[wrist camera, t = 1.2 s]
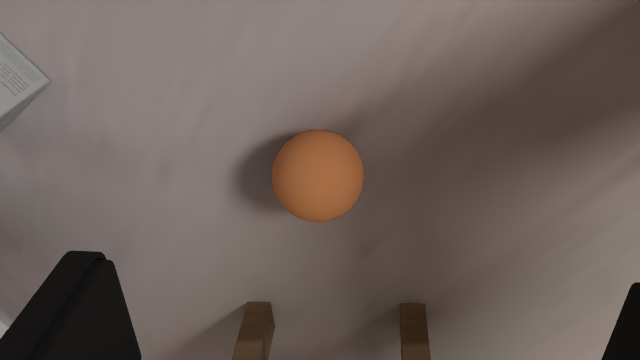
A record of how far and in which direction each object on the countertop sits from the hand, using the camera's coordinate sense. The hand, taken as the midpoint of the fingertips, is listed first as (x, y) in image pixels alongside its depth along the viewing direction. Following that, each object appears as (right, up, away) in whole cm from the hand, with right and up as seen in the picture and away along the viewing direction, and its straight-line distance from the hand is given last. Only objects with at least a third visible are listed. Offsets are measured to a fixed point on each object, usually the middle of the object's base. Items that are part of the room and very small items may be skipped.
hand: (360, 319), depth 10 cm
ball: (-1, +3, +24) cm, 25 cm away
